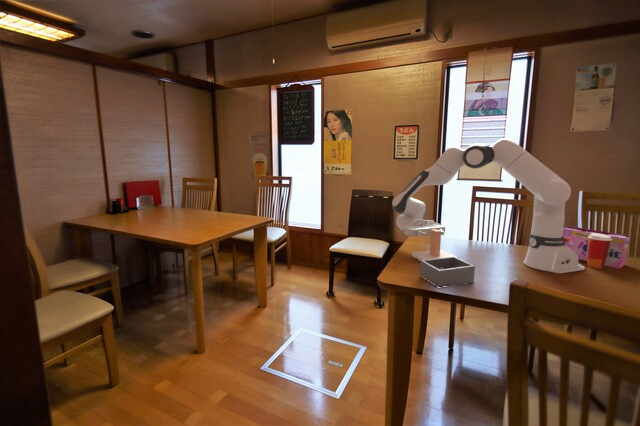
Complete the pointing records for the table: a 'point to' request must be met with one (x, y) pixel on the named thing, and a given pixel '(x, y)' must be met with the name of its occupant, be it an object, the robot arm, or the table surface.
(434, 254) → the lid
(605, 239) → the paper cup
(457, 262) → the parts tub
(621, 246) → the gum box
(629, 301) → the table surface
